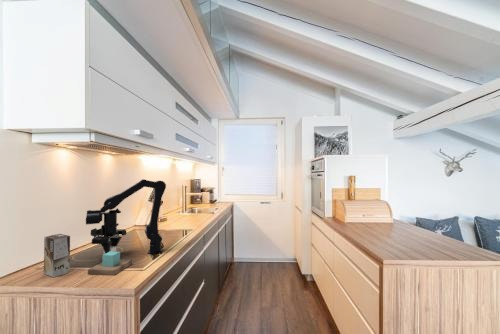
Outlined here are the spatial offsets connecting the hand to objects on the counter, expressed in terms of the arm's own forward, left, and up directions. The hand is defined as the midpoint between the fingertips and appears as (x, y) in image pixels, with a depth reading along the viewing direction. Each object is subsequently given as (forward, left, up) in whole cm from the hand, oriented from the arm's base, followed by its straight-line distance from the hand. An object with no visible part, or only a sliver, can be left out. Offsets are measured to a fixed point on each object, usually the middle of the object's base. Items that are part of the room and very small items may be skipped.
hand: (110, 253), depth 121 cm
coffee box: (+18, -12, -3) cm, 22 cm away
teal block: (+12, +9, -1) cm, 15 cm away
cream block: (0, 0, -1) cm, 1 cm away
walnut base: (+12, +9, -3) cm, 15 cm away
